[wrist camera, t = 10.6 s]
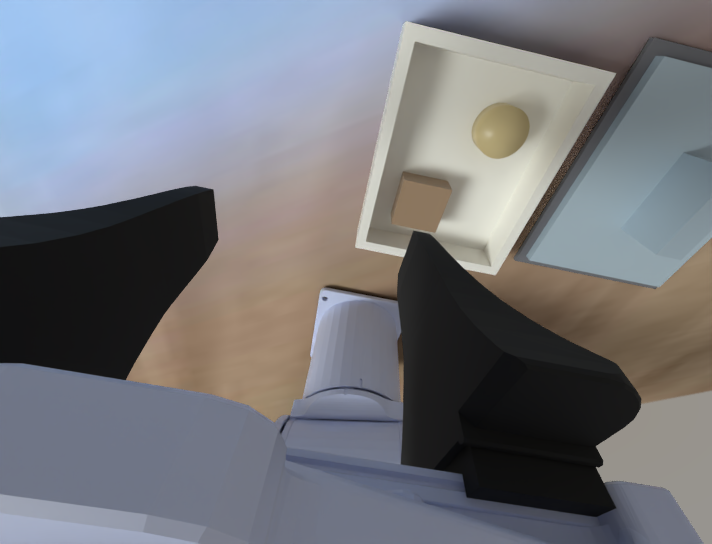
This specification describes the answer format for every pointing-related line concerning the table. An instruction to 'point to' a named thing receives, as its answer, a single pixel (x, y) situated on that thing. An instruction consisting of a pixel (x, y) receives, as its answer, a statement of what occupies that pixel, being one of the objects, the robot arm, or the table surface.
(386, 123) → the storage box
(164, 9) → the table surface
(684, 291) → the table surface
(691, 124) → the lid
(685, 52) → the mat
